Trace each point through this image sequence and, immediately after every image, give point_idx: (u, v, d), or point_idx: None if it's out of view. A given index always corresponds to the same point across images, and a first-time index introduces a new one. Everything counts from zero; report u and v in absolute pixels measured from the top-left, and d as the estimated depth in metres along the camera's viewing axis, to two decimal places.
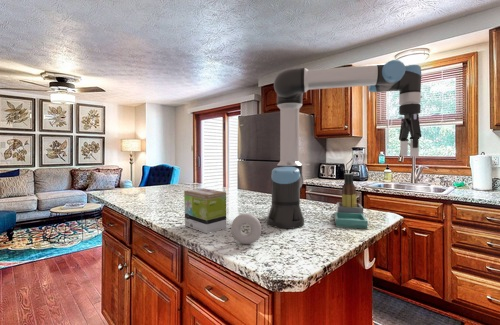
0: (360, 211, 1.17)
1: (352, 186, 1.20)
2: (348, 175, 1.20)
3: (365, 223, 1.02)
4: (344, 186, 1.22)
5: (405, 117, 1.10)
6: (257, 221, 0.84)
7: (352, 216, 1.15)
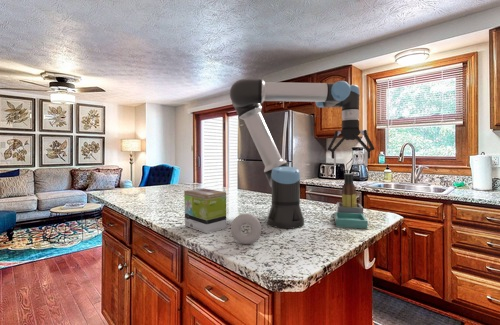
0: (360, 211, 1.17)
1: (352, 186, 1.20)
2: (348, 175, 1.20)
3: (365, 223, 1.02)
4: (344, 186, 1.22)
5: None
6: (257, 221, 0.84)
7: (352, 216, 1.15)
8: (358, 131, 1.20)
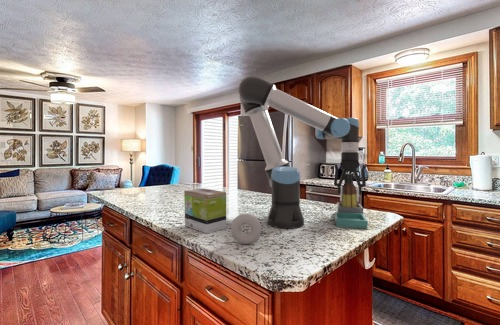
0: (360, 211, 1.17)
1: (352, 186, 1.20)
2: (348, 175, 1.20)
3: (365, 223, 1.02)
4: (344, 186, 1.22)
5: None
6: (257, 221, 0.84)
7: (352, 216, 1.15)
8: (357, 164, 1.20)
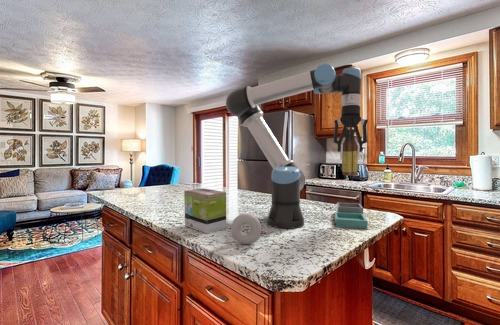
0: (360, 211, 1.17)
1: (354, 142, 1.11)
2: (350, 130, 1.11)
3: (365, 223, 1.02)
4: (345, 143, 1.12)
5: None
6: (257, 221, 0.84)
7: (352, 216, 1.15)
8: (359, 118, 1.11)
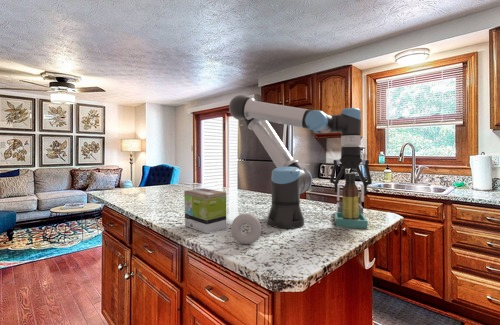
0: (360, 211, 1.17)
1: (354, 187, 1.07)
2: (350, 175, 1.07)
3: (365, 223, 1.02)
4: (345, 187, 1.08)
5: None
6: (257, 221, 0.84)
7: None
8: (359, 159, 1.07)
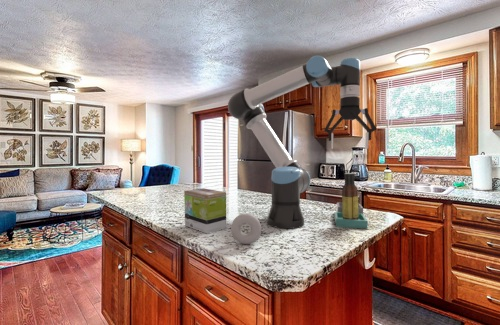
0: (360, 211, 1.17)
1: (353, 187, 1.07)
2: (349, 175, 1.07)
3: (365, 223, 1.02)
4: (344, 187, 1.08)
5: None
6: (257, 221, 0.84)
7: None
8: (358, 110, 1.07)
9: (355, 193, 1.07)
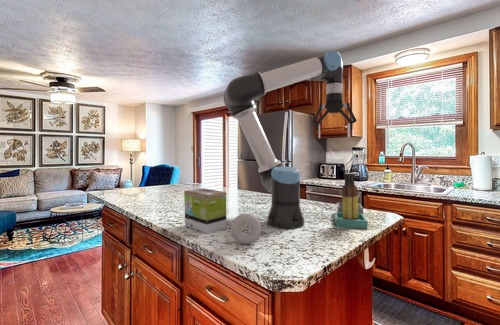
0: (360, 211, 1.17)
1: (353, 187, 1.07)
2: (349, 175, 1.07)
3: (365, 223, 1.02)
4: (344, 187, 1.08)
5: None
6: (257, 221, 0.84)
7: None
8: (341, 104, 1.25)
9: (355, 193, 1.07)
